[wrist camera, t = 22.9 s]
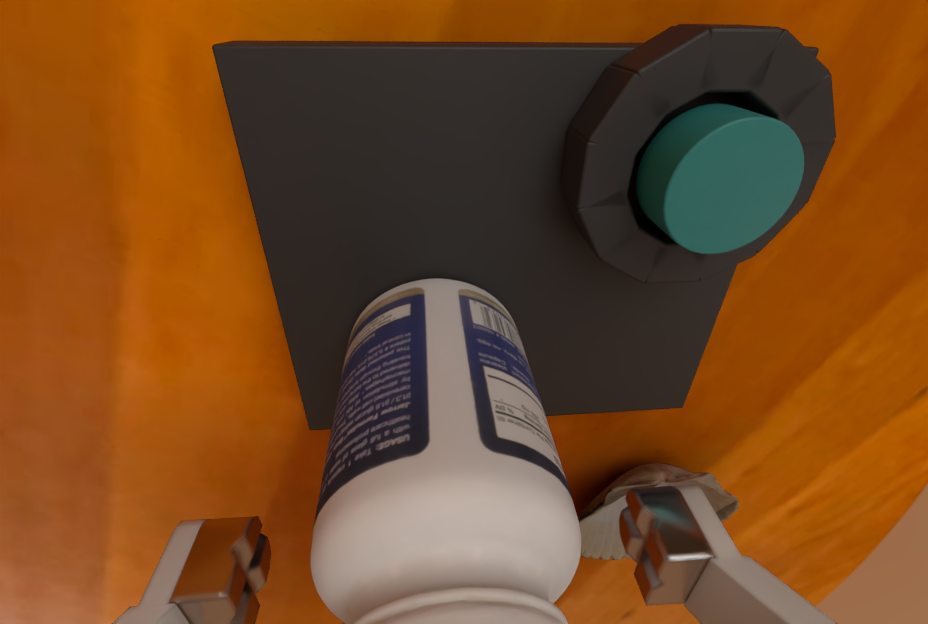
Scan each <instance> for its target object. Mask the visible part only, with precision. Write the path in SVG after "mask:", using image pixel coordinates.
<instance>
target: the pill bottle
mask: <svg viewBox="0 0 928 624" xmlns="http://www.w3.org/2000/svg"><path fill="white" fill-rule="evenodd" d="M580 554H581V532H580V526H579V520H578V517H577V514H576V510H575V507H574V503H573V500H572V497H571V493H570V489H569V486H568V483H567V480H566V477H565V475H564V472H563V469H562V466H561V462H560V459H559V456H558V453H557V450H556V447H555V444H554V441H553V438H552V434H551V431H550V428H549V425H548V422H547V419H546V416H545V413H544V409H543V406H542V403H541V400H540V397H539V394H538V391H537V388H536V385H535V382H534V379H533V375H532V372H531V369H530V366H529V364H528V360H527V357H526V354H525V351H524V348H523V345H522V342H521V339H520V336H519V333H518V330H517V328H516V325H515V323H514V321H513V319H512V317H511V316H510V314H509V312H508V311H507V310H506V308H505V307H504V306H503V305H502V304H501V303H500V302H499V301H498V300H497V299H496V298H495V297H493V296H492V295H491V294H489V293H488V292H486V291H485V290H483V289H481V288H479V287H476V286H474V285H471V284H468V283H465V282H461V281H457V280H451V279H441V278H436V279H423V280H418V281H413V282H409V283H406V284H402V285H400V286H397V287H395V288H393V289H391V290H389V291H387V292H385V293H383V294H382V295H380V296H379V297H377V298H376V299H375V300H374V301H372V302H371V303H370V304H369V305H368V306H367V307H366V308H365V310H364V311H363V312H362V313H361V315H360V316H359V318H358V319H357V321H356V323H355V325H354V327H353V329H352V332H351V335H350V338H349V342H348V346H347V350H346V356H345V362H344V366H343V372H342V377H341V382H340V388H339V394H338V399H337V404H336V409H335V415H334V420H333V425H332V430H331V435H330V440H329V446H328V451H327V457H326V462H325V468H324V473H323V479H322V485H321V491H320V496H319V501H318V506H317V511H316V517H315V522H314V526H313V540H312V546H311V556H310V559H311V574H312V578H313V581H314V584H315V587H316V590H317V592H318V594H319V596H320V597H321V599H322V601H323V602H324V603H325V605H326V606H327V608H328V609H329V610H330V611H331V612H332V613H333V614H334V615H335V616H336V617H337V618H339V619H340V620H341V621H342V622H344V623H345V624H568V622H567V620H566V618H565V616H564V614H563V613H562V612H561V611H560V609H559V608H557V607H556V606H555V605H554V604H553V603H554V602H555V601H556V600H557V599H558V598H559V597H560V596H561V595H562V594H563V592H564V591H565V590H566V589H567V587H568V586H569V584H570V582H571V580H572V578H573V577H574V574H575V572H576V569H577V567H578V564H579V560H580Z"/></svg>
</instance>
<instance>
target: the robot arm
mask: <svg viewBox="0 0 928 624" xmlns="http://www.w3.org/2000/svg"><path fill="white" fill-rule="evenodd" d="M625 500H626V502H627V504H628V506H627V507H625V508H624V509H623V510H621V514H620V517H619V532H620V536H621V540H622V543H623V546H624V549H625V552H626V554H627V555H628V556H630V557H631V558H632V559H633V560H634V561H635V562H636V563H637V564H636V568H635V572H634V575H635V578H636V580H637V583H638V586H639V588H640V591H641V593H642V596H643V598H644V601H645V603H646V606H648V605H665V604H681V603H685V605H684V606H685V607H686V608H687V609H688V610H689V611H690V612H691V613H692V614H693V615H694V616H695V617H696V618H697V620H698V621H699V622H700V623H701V624H837V623H836V622H834V621H833V620H832V619H830V618H829V617H828V616H827V615H825V614H824V613H822V612H821V611H820V610H819V609H817V608H816V607H815V606H813V605H812V604H811V603H810V602H808V601H807V600H806V599H804V598H803V597H802V596H800V595H799V594H798V593H796V592H795V591H794V590H793V589H791V588H790V587H789V586H787V585H786V584H785V583H783V582H782V581H781V580H779V579H778V578H777V577H776V576H774V575H773V574H772V573H770V572H769V571H768V570H766V569H765V568H764V567H762V566H761V565H760V564H758V563H757V562H756V561H755V560H753V559H752V558H751V557H749V556H741V554H740V553H739V551H738V549H737V548H736V546H735V544H734V543H733V541H732V539H731V538H730V536H729V534H728V533H727V531H726V529H725V528H724V526H723V524H722V523H721V521H720V519H719V518H718V516H717V514H716V513H715V511H714V509H713V508H712V506H711V504H710V503H709V501H708V499H707V498H706V496H705V494H704V493H703V491H702V489H700V488H699V487H698V486H697V485H680V486H662V487H651V488H640V489H631V490H629V491H628V492H627V495H626V498H625ZM261 528H262V523H261V521H260V519H259V517H258V516H253V517H237V518H222V519H201V520H189V521H181V522H180V523H179V525H178V526H177V527H176V528H175V529H174V531H173V533H172V535H171V537H170V539H169V541H168V543H167V546H166V548H165V550H164V552H163V554H162V556H161V558H160V560H159V562H158V565H157V567H156V569H155V571H154V573H153V575H152V577H151V579H150V581H149V584H148V586H147V588H146V590H145V592H144V594H143V596H142V598H141V600H140V603H139V605H138V606H133V607H129V608H128V609H127V610H126V611H125V612H124V613H123V614H122V615H121V616H120V617H119V618H118V619H117V620H115V621H114V622H113V623H112V624H255V622H256V618H257V614H258V611H259V607H260V604H259V602H258V600H257V597H256V595H255V594H256V593H257V592H258V591H259V590H260V589H261V588H262V587H263V585H264V584H265V583H266V581H267V577H268V573H269V569H270V559H271V549H270V543H269V540H268V537H267V536H265V535H263V534H261V533H260V532H261Z"/></svg>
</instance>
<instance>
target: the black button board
mask: <svg viewBox="0 0 928 624" xmlns="http://www.w3.org/2000/svg"><path fill="white" fill-rule="evenodd" d="M212 49H213V53H214V56H215V60H216V64H217V68H218V72H219V76H220V80H221V84H222V88H223V92H224V96H225V100H226V104H227V108H228V111H229V115H230V119H231V123H232V127H233V131H234V135H235V139H236V143H237V147H238V151H239V155H240V159H241V162H242V166H243V170H244V174H245V178H246V182H247V186H248V190H249V194H250V198H251V202H252V206H253V210H254V213H255V217H256V221H257V225H258V229H259V233H260V237H261V241H262V245H263V249H264V253H265V257H266V261H267V264H268V268H269V272H270V276H271V280H272V284H273V288H274V292H275V296H276V300H277V304H278V308H279V312H280V315H281V319H282V323H283V327H284V331H285V335H286V339H287V343H288V347H289V351H290V355H291V359H292V363H293V366H294V370H295V374H296V378H297V382H298V386H299V390H300V394H301V398H302V402H303V406H304V410H305V414H306V417H307V421H308V425H309V429H310V430H321V429H332V425H333V420H334V415H335V409H336V404H337V399H338V394H339V388H340V382H341V377H342V372H343V366H344V362H345V356H346V350H347V346H348V342H349V338H350V335H351V332H352V329H353V327H354V325H355V323H356V321H357V319H358V318H359V316H360V315H361V313H362V312H363V311H364V310H365V308H366V307H367V306H368V305H369V304H370V303H371V302H372V301H374V300H375V299H376V298H377V297H379V296H380V295H382V294H383V293H385V292H387V291H389V290H391V289H393V288H395V287H397V286H400V285H402V284H406V283H409V282H413V281H418V280H423V279H436V278H441V279H451V280H457V281H461V282H465V283H468V284H471V285H474V286H476V287H479V288H481V289H483V290H485V291H486V292H488V293H489V294H491V295H492V296H493V297H495V298H496V299H497V300H498V301H499V302H500V303H501V304H502V305H503V306H504V307H505V308H506V310H507V311H508V312H509V314H510V316H511V317H512V319H513V321H514V323H515V325H516V328H517V330H518V333H519V336H520V339H521V342H522V345H523V348H524V351H525V354H526V357H527V360H528V364H529V366H530V369H531V372H532V375H533V379H534V382H535V385H536V388H537V391H538V394H539V397H540V400H541V403H542V406H543V409H544V413H545V416H553V415H570V414H587V413H603V412H620V411H636V410H653V409H669V408H682V407H683V405H684V402H685V400H686V397H687V395H688V392H689V389H690V387H691V384H692V381H693V379H694V376H695V374H696V371H697V368H698V366H699V363H700V360H701V358H702V355H703V353H704V350H705V347H706V345H707V342H708V339H709V337H710V334H711V332H712V329H713V326H714V324H715V321H716V318H717V316H718V313H719V311H720V308H721V305H722V303H723V300H724V297H725V295H726V292H727V290H728V287H729V284H730V282H731V279H732V276H733V274H734V271H735V269H736V266H737V264H738V263H740V262H743V261H745V260H747V259H749V258H751V257H753V256H755V255H756V253H758V252H760V251H761V250H762V249H763V248H764V247H765V246H766V245H767V244H768V243H769V242H770V241H771V240H772V239H773V238H774V237H775V236H776V235H777V234H778V233H779V232H780V230H781V229H782V228H783V227H784V226H785V225H786V224H787V223H788V222H789V221H790V220H791V219H792V218H793V217H794V216H795V215H796V214H797V213H798V212H799V211H800V210H801V209H802V208H803V207H804V206H805V204H806V203H807V202H808V201H809V198H810V196H811V194H812V192H813V189H814V187H815V185H816V183H817V180H818V178H819V176H820V173H821V171H822V169H823V167H824V164H825V162H826V160H827V158H828V155H829V153H830V151H831V148H832V146H833V144H834V142H835V137H836V132H835V119H834V106H833V93H832V80H831V74H830V73H829V70H828V69H827V68H826V67H825V66H824V65H823V64H822V63H821V62H820V61H819V60H818V59H816V56H817V53H818V48H816V47H807V46H803V45H802V44H801V43H800V42H799V41H798V40H797V39H796V38H795V37H794V36H793V35H792V34H791V33H790V32H789V31H788V30H786V29H781V28H780V27H769V26H751V25H711V24H679V25H677V26H672V27H670V28H668V29H667V30H665V31H663V32H662V33H660V34H658V35H657V36H655V37H653V38H652V39H650V40H648V41H647V42H645V43H540V42H370V41H230V42H225V43H219V44H215V45H213V47H212ZM715 103H721V104H728V105H733V106H736V107H739V108H742V109H746V110H749V111H752V112H755V113H758V114H762V115H765V116H768V117H771V118H774V119H777V120H779V121H781V122H783V123H785V124H786V125H788V126H789V127H790V128H791V129H792V130H793V131H794V132H795V134H796V135H797V137H798V138H799V140H800V143H801V145H802V148H803V153H804V172H803V176H802V181H801V184H800V186H799V189H798V192H797V194H796V196H795V198H794V200H793V201H792V203H791V205H790V206H789V208H788V209H787V210H786V212H785V213H784V214H783V216H782V217H781V218H780V219H779V220H778V221H777V222H776V223H775V224H774V225H773V226H772V227H771V228H770V229H769V230H768V231H766V232H765V233H764V234H763V235H761V236H760V237H758V238H757V239H755V240H754V241H752V242H750V243H748V244H747V245H745V246H742V247H740V248H738V249H735V250H732V251H729V252H724V253H719V254H701V253H695V252H692V251H689V250H687V249H685V248H683V247H681V246H680V245H678V244H677V243H676V242H675V241H674V240H672V239H671V238H670V237H669V236H668V235H667V234H666V233H665V232H664V231H663V230H661V229H660V228H659V227H658V226H657V225H656V224H655V223H654V222H653V221H651V220H650V219H649V218H648V217H647V216H646V214H645V213H644V212H643V210H642V209H641V206H640V204H639V202H638V198H637V192H636V178H637V171H638V168H639V164H640V162H641V159H642V157H643V154H644V153H645V151H646V149H647V147H648V146H649V144H650V143H651V141H652V140H653V138H654V137H655V136H656V135H657V134H658V132H659V131H660V130H661V129H662V128H663V127H664V126H665V125H667V124H668V123H669V122H670V121H672V120H673V119H674V118H676V117H677V116H679V115H681V114H682V113H684V112H686V111H688V110H690V109H693V108H696V107H698V106H702V105H706V104H715Z"/></svg>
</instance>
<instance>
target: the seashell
mask: <svg viewBox="0 0 928 624" xmlns="http://www.w3.org/2000/svg"><path fill="white" fill-rule="evenodd" d="M680 485H697V486H698V487H699V488H700V489H702V491H703V493H704V494H705V496H706V498H707V499H708V501H709V503H710V504H711V506H712V508H713V509H714V511H715V513H716V514H717V516H718V518H719V519H720V521H721V523H722V522H723V521H724V520H726V519H728V518H730V516H731V514H732V513H734V512H736V510H737V509H738V499H737V498H736V497H734V496H733V495H731V494H730V493H728V492H726V491H725V490H723V489H722V487H721V485H720V484H719V483H718V482H716V480H715V478H714V476H713V475H712V474H709V473H695V474H693V473H691V472H689V471H686V470H684V469H681V468H678V467H675V466H672V465H667V464H661V463H650V464H644V465H640V466H637V467H635V468H633V469H631V470H629V471H627V472H626V473H624V474H622V475H621V476H620V477H619V478H617V479H616V480H615V481H613V482H612V483H611V484H610V485H609V486H607V487H606V488H605V489H604V490H603V491H602V492H601V493H600V494H599V495H597V496H596V497H595V498H594V499H593V500H592V501H591V503H590V504H589V505H588V506H587V507H586V508H585V509H584V510H583V511H582V512H581V513H580V515H579V516H578V520H579V526H580V532H581V554H580V555H581V556H582V557H585V558H588V557H591V558H593V559H598V558H600V559H602V560H608V559H610V558H612V560H620V559H622V558H624V557H625V558H628V559H630V558H631V557H630V556H628V555H627V554H626V552H625V549H624V546H623V543H622V540H621V536H620V532H619V517H620V514H621V510H623V509H624V508H625V507H627V506H628V504H627V502H626V500H625V498H626V495H627V492H628V491H629V490H631V489H640V488H651V487H662V486H680Z"/></svg>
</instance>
